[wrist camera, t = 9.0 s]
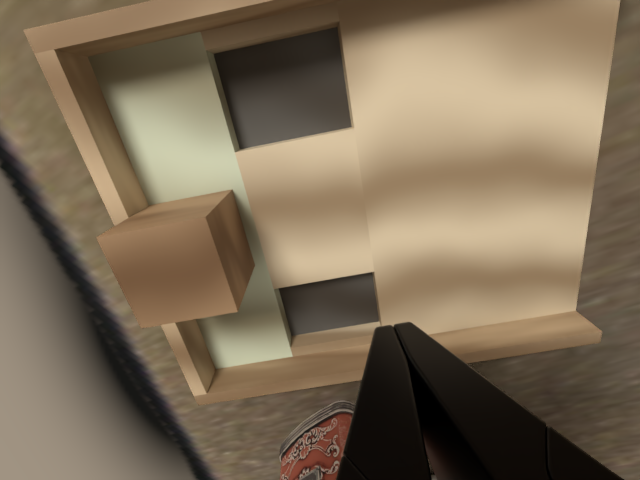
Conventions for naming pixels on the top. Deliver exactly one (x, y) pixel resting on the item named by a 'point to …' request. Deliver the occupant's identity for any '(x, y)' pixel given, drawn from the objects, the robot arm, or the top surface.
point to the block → (181, 259)
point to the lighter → (317, 444)
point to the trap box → (354, 166)
